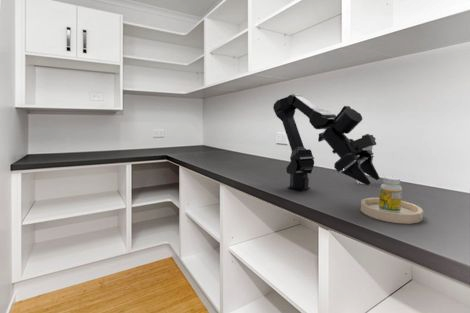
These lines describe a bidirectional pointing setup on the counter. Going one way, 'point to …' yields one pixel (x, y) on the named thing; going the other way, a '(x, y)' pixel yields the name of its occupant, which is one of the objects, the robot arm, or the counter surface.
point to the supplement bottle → (390, 195)
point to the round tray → (406, 214)
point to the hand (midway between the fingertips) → (374, 181)
